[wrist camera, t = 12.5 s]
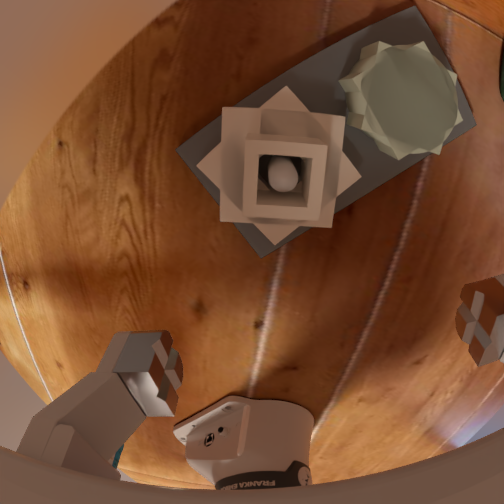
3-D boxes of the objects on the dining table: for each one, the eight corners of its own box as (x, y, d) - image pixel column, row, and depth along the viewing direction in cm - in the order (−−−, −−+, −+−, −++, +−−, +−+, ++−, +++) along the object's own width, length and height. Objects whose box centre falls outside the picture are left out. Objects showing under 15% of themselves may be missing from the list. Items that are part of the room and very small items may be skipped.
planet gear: (345, 242, 28) (360, 271, 23) (200, 233, 28) (189, 262, 23) (365, 96, 22) (388, 97, 17) (201, 83, 22) (187, 80, 17)
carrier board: (261, 250, 30) (260, 283, 25) (179, 146, 26) (160, 159, 21) (468, 122, 23) (502, 132, 18) (407, 8, 19) (437, -5, 14)
